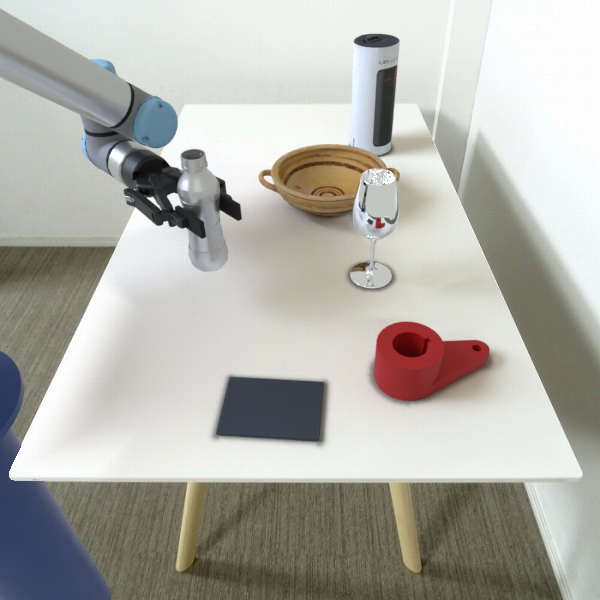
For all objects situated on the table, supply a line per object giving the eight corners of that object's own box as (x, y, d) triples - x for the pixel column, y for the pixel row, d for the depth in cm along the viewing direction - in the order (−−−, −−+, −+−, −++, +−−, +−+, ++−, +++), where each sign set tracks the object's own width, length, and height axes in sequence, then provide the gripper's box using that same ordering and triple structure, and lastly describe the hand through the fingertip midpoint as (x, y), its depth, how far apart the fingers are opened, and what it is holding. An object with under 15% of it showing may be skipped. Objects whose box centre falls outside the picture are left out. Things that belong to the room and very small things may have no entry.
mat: (216, 434, 75) (215, 432, 74) (230, 378, 82) (229, 376, 82) (319, 441, 73) (319, 439, 73) (323, 383, 81) (323, 381, 81)
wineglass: (340, 275, 100) (343, 176, 87) (369, 257, 104) (376, 160, 91) (372, 295, 96) (380, 194, 82) (401, 276, 99) (413, 176, 86)
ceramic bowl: (391, 174, 128) (394, 142, 123) (403, 233, 110) (407, 198, 104) (264, 176, 129) (262, 144, 124) (256, 234, 111) (252, 200, 105)
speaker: (360, 160, 134) (366, 47, 116) (342, 143, 141) (345, 34, 124) (398, 152, 136) (409, 40, 119) (378, 135, 144) (386, 28, 127)
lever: (388, 407, 77) (392, 376, 73) (364, 360, 84) (366, 329, 80) (502, 378, 81) (512, 346, 76) (469, 335, 88) (477, 304, 83)
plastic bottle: (217, 248, 96) (200, 140, 83) (237, 267, 92) (224, 156, 78) (183, 262, 93) (161, 152, 80) (203, 282, 89) (183, 169, 76)
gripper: (189, 170, 102) (271, 218, 89) (95, 209, 93) (171, 268, 80) (183, 132, 97) (268, 176, 84) (83, 169, 88) (162, 225, 75)
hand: (221, 221), depth 82 cm, fingers closed on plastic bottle, 6 cm apart
